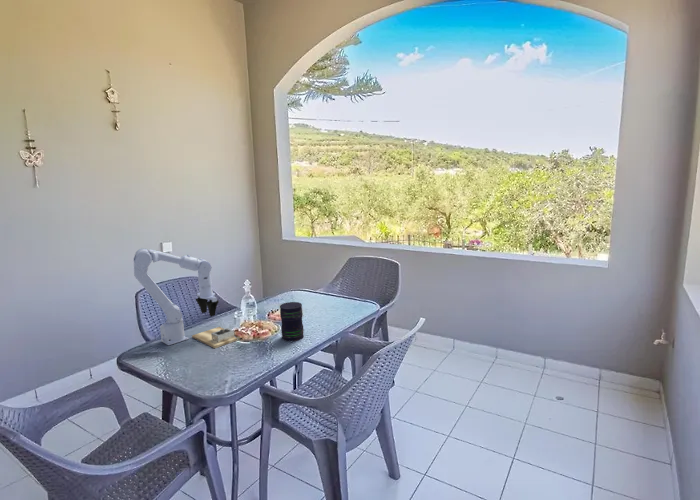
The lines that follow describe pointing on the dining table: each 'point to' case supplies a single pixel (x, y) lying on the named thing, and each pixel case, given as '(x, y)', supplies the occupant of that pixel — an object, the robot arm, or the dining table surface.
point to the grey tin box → (222, 335)
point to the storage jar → (291, 321)
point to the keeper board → (207, 338)
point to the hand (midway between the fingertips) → (208, 314)
